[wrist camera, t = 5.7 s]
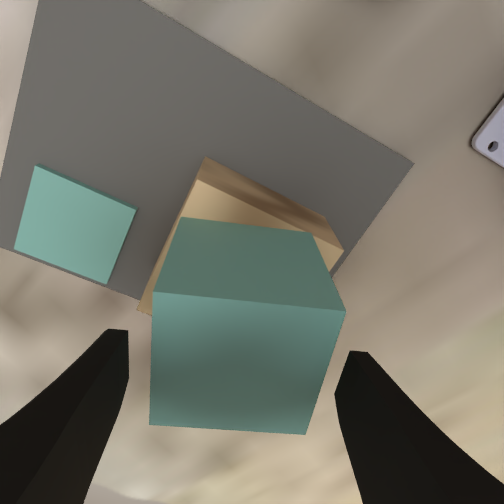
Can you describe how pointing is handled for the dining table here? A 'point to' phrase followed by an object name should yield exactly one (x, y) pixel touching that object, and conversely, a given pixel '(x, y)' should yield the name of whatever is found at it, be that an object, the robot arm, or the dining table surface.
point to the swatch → (73, 224)
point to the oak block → (244, 214)
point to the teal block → (241, 328)
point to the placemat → (174, 129)
